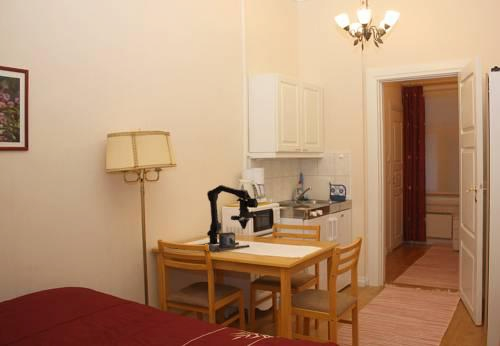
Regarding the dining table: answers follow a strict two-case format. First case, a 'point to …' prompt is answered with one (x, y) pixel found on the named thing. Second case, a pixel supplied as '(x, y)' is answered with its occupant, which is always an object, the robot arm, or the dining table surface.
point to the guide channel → (217, 248)
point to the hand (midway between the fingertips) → (243, 229)
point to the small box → (226, 240)
